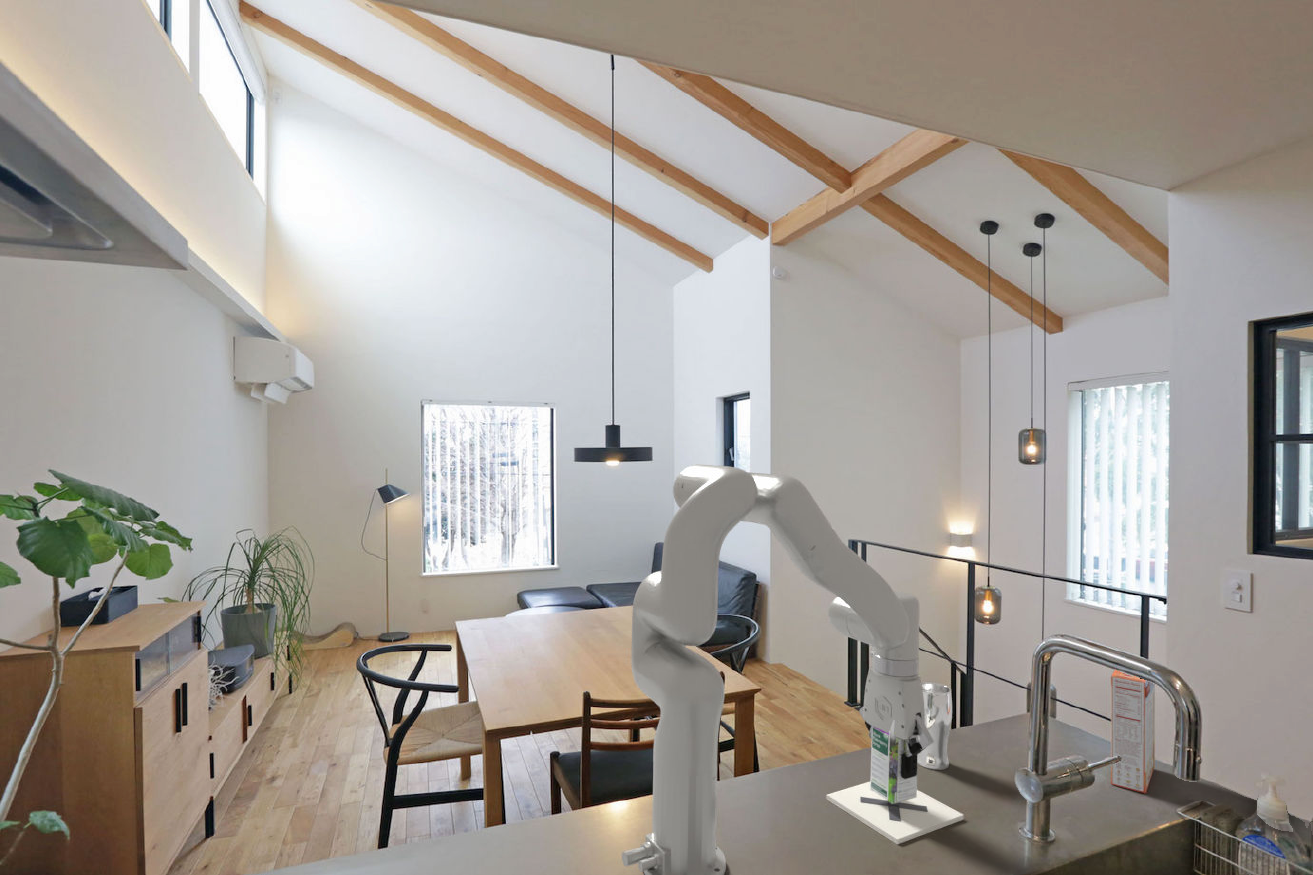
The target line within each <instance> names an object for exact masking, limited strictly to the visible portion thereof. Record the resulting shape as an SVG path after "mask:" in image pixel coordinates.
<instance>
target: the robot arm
mask: <svg viewBox="0 0 1313 875" xmlns="http://www.w3.org/2000/svg"><path fill="white" fill-rule="evenodd" d="M672 491H673V492H672V494H673V497H674V500H675V503H676V505H677V506H678V508H679V509H678V510H677V512H676V513H675V514H674V516H673V517H672V519H671V521H670V523H669V525H668V527H667V530H666V532H665V535H664V540H663V546H662V558H661V568H660V570H659V571H655V572H652V573H651V574H649V575H648V576H646V577H645V578H644V579H643V580H642V581H641V583H640V584H639V586H638V587H637V590H636V592H635V596H634V598H633V602H632V603H633V604H632V614H631V615H632V616H631V617H632V620H631V623H632V624H631V657H630V658H631V672H632V677H633V680H634V683H635V685H636V686H637V687H638V689H639V690H640V691H641V692H642V693H643V695H645V696H647V697H648V698H649V699H650V700H651V701H653V702H654V703H655V704H656V706H658V707H659V710H660V715H659V721H658V724H657V728H656V731H655V735H654V738H653V739H654V740H653V749H652V750H653V751H652V752H653V754H652V755H653V756H652V758H653V760H652V762H653V763H652V764H653V768H652V769H653V770H652V771H653V773H652V775H653V777H652V778H653V779H652V820H651V821H652V822H651V824H652V827H651V828H652V829H651V833H647V834H645V842H644V843H642V844H640V847H637V848H631V849H629V850H626V851H622V852H621V861H622V863H623V866H624V867H626V868H627V867H630V866H633V865H636V864H637V867H638V870H639V871H640V872H643V874H644V875H725V873H726V870H727V858H726V856H725V854H724V852H723V850H721V848H720V847H718V845H717V805H718V804H717V802H718V801H717V800H718V798H717V796H718V794H717V792H718V744H719V743H718V742H719V741H718V740H719V728H720V721H721V716H722V712H723V708H724V703H725V702H724V701H725V694H726V693H725V691H726V690H725V683H724V679H723V678H722V676H721V673H720V671H719V670H718V669H717V668H716V667H715V665H714V664H713V663H712V662H711V661H710V660H708V659H707V658H706V657H704V656H703V655H701V654H700V653H697V652H695V651H694V650H693V649H690V648H689V647H697V646H701V645H702V644H705V643H706V642H708V641H709V640H710V639H711V638H712V636H713V635H714V633H715V630H716V627H717V621H718V606H719V605H718V602H719V600H718V599H719V595H718V594H719V565H720V564H719V563H720V555H721V549H722V546H723V544H724V541H725V540H726V538H727V536H728V535H729V533H730V532H731V531H732V530H733V528H735V526H737V525H738V524H739V523H740V522H747V523H754V524H760V525H764V526H766V527H767V528H769V530H770V531H771V533H772V534H773V536H774V537H775V538H776V539H777V541H778V543H779V544H780V545H781V547H782V548H783V550H784V551H785V552H786V554H787V555H788V557H789V559H790V560H791V562H792V563H793V564H794V566H795V567H796V569H797V570H798V571H799V572H800V573H801V574H802V575H804V576H805V577H806V578H807V579H809V580H810V581H812V582H813V583H814V584H816V585H818V586H819V587H821V588H822V589H824V590H826V591H828V592H829V593H831V594H833V595H834V596H836V597H835V598H834V599H832V600H831V602H830V604H829V606H828V609H827V617H828V621H829V623H830V625H831V626H832V628H833V629H834V630H835V631H836V632H838V633H839V634H841V635H843V636H845V637H848V638H850V639H853V640H855V641H858V642H860V643H861V642H862V643H863V644H867V645H870V646H872V647H873V649H872V650H871V652H870V657H871V658H872V666H870V667H869V669H868V672H867V673H868V674H867V677H866V682H865V688H864V696H863V698H864V699H863V706H862V707H861V708H860V709H859V714H860V717H861V718H862V719H863V721H864V724H865V727H866V728H867V731H868V737H869V738H870V739H871V740H872V726H873V727H875V728H878V729H880V730H882V731H885V732H887V733H888V732H889V731H890V729H891V726H892V722H893V720H895V737H896V738H898V739H901V741H902V745H903V749H904V753H905V754H903V755H902V756H901V776H902V778H904V779H908V778H911V777H914V776H916V775H917V776H918V763H917V754H919V753H921V751H923V750H924V749H925V748H926V747H928V746H929V745H931V744H932V743H933V738H932V737H931V735H930V733H929V731H928V730H927V728H926V726H925V708H924V696H923V688H922V683H923V682H922V678H921V677H920V676H919V663H920V662H919V659H920V658H919V655H920V654H919V653H920V602H919V599H918V598H917V597H916V596H915V595H913V594H911V593H907V592H903V591H894V590H893V588H892V587H891V585H890V584H889V583H888V581H886V580H885V579H884V578H883V577H882V575H880V573H878V572H877V571H876V570H875V569H874V568H873V567H871V565H869V564H868V563H867V562H866V561H865V560H863V559H862V557H860V556H859V555H858V554H857V553H856V552H855V551H854V550H852V549H851V548H850V547H848V546H847V545H846V543H845V542H843V540H842V539H841V538H840V537H839V535H838V534H837V531H835V529H834V527H833V526H832V525H831V523H830V522H829V519H827V516H826V515H825V514H824V512H823V511H822V510H821V508H820V507H819V506H820V505H818V503H817V502H816V500H815V498H814V497H813V496H812V495H811V494H812V493H811V492H810V491H809V490H808V488H807V487H806V486H805V485H804V484H803V482H801V481H800V480H799V479H797V478H796V477H793V476H788V475H785V474H784V475H783V474H775V473H773V474H772V473H760V472H759V473H758V472H750V471H749V472H748V471H746V470H744V469H742V468H739V467H734V466H726V465H713V464H712V465H711V464H693V465H690V466H688V467H686V468H684V469H682V471H681V472H679V473H678V475H677V477H676V478H675V480H674V483H673V490H672ZM687 646H689V647H687ZM917 735H919V736H920V740H918V736H917ZM908 739H911V742H912V746H910V743H909V740H908Z"/></svg>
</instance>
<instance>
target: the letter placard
mask: <svg viewBox="0 0 1313 875" xmlns="http://www.w3.org/2000/svg"><path fill="white" fill-rule="evenodd" d="M826 800H827V801H828V802H830V803H832V804H833V805H834V806H836V807H838V808H839V809H841V810H842V811H845V812H846V813H847V814H849V815H851V816H852V817H853V818H856V820H857V821H859V822H861V823H863V824H865V825H866V826H867V827H870V828H871V829H872V830H873V831H875V832H876V833H879V834H880V835H882V836H884V838H886V839H887V840H890V841H891V842H892V843H894V844H896V845H900V844H903V843H905V842H907V841H911V840H913V839H916V838H919V837H920V836H924V835H927V834H929V833H932V832H934V831H937V830H940V829H942V828H944V827H947V826H950V825H953V824H955V823H958V822H961V821H964V814H963V813H962V812H960V811H957V810H956V809H953V808H952V807H950V806H948V805H946V804H945V803H942V802H941V801H939V800H937V799H935V798H933V797H932V796H930V795H928V794H925V793H924V792H923V791H920V790H918V789H917V797H916V798H913V799H909V800H906V801H902V802H898V803H894V804H892V803H890V802H889V801H888V800H886V799H885V798H883V797H882V796H880V795H879V794H877V793H876V792H874V791H871V790H870V781H866V782H864V783H861V784H857V785H853V786H850V787H848V788H843V789H842V790H838V791H834V792H831V793H828V794H826Z"/></svg>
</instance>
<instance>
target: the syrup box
mask: <svg viewBox="0 0 1313 875" xmlns="http://www.w3.org/2000/svg"><path fill="white" fill-rule="evenodd" d="M917 736H918V735H917ZM908 740H909V743H910V746H912V742H911V739H908ZM870 747H871V755H870V781H869V782H870V790H871V791H874V792H876V793H877V794H879V795H880V796H882V797H883V798H885V799H886V800H888V801H889V802H890V803H892V804H894V803H898V802H902V801H906V800H909V799H913V798H916V797H917V790H918V783H917V782H918V774H917V775H916V776H914V777H911V778H908V779H904V778H902V776H901V756H902V755H903V754H905V753H904V749H903V745H902V741H901V739H898V738H896V737H895V720H893V722H892V726H891V729H890V731H889V732H888V733H887V732H885V731H882V730H880V729H878V728H875V727H873V726H872V739H871V745H870ZM917 762H918V754H917Z"/></svg>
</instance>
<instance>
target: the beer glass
mask: <svg viewBox="0 0 1313 875" xmlns="http://www.w3.org/2000/svg"><path fill="white" fill-rule="evenodd" d="M922 688H923V696H924V708H925V726H926V728H927V730H928V731H929V733H930V735H931V737H932V738H933V743H932V744H931V745H929V746H928V747H926V748H925V749H924V750H923V751H921V753H919V754H918V762H917V765H920V766H921V767H923V768H926V769H930V770H935V771H942V770H946V769H948V768H949V767H950V763H949V758H948V740H949V736H950V731H951V726H952V719H953V700H952V699H953V698H952V688H950V687H949V686H947V685H945V684H942V683H937V682H930V681H929V682H927V681H926V682H925V681H924V682H922ZM918 740H920V736H919V735H918Z"/></svg>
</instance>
